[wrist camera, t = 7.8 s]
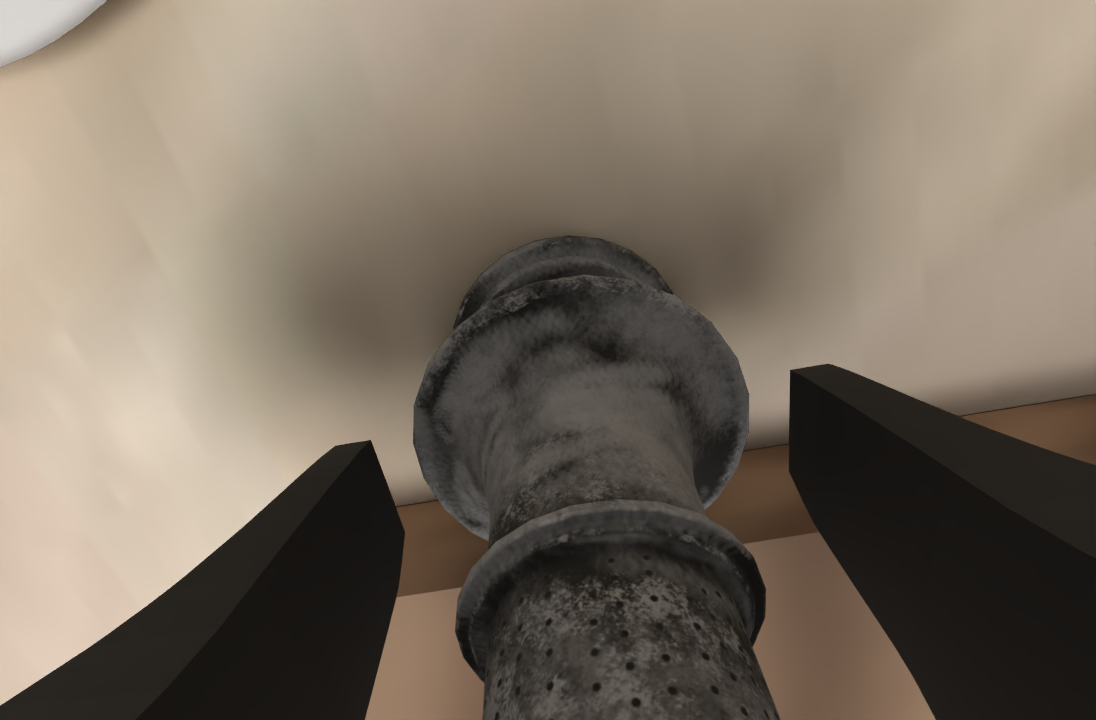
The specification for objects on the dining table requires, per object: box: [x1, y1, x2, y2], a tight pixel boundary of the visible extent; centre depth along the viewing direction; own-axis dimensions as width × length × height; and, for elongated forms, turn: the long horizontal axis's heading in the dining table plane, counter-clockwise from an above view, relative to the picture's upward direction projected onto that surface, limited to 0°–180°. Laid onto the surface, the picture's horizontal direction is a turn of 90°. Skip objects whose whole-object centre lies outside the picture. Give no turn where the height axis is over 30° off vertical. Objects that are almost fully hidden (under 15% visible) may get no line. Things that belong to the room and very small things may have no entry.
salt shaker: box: [413, 236, 781, 720], centre depth 8 cm, size 6×6×12 cm
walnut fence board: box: [365, 395, 1096, 720], centre depth 15 cm, size 24×8×3 cm, turn 100°
